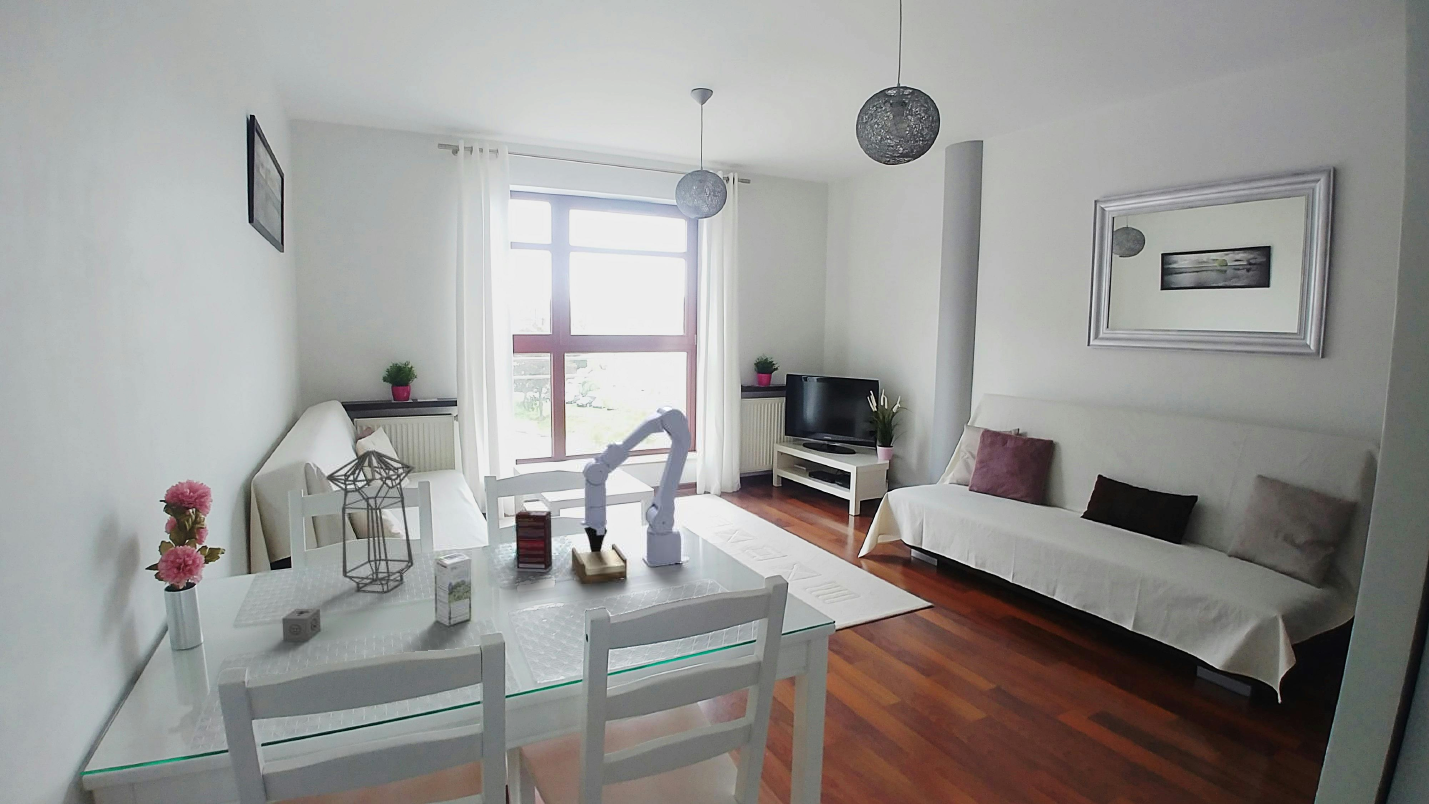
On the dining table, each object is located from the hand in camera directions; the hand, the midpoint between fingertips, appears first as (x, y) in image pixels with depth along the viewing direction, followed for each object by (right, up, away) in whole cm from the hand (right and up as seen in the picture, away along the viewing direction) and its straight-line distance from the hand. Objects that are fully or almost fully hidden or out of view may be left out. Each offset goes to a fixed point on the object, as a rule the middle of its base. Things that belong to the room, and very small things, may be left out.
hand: (595, 553), depth 192 cm
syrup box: (-26, -8, -35) cm, 44 cm away
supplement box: (-16, -4, -1) cm, 17 cm away
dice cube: (-55, -8, -44) cm, 71 cm away
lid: (+3, -2, -7) cm, 7 cm away
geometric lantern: (-53, -5, -15) cm, 55 cm away
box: (+1, -4, -3) cm, 6 cm away
